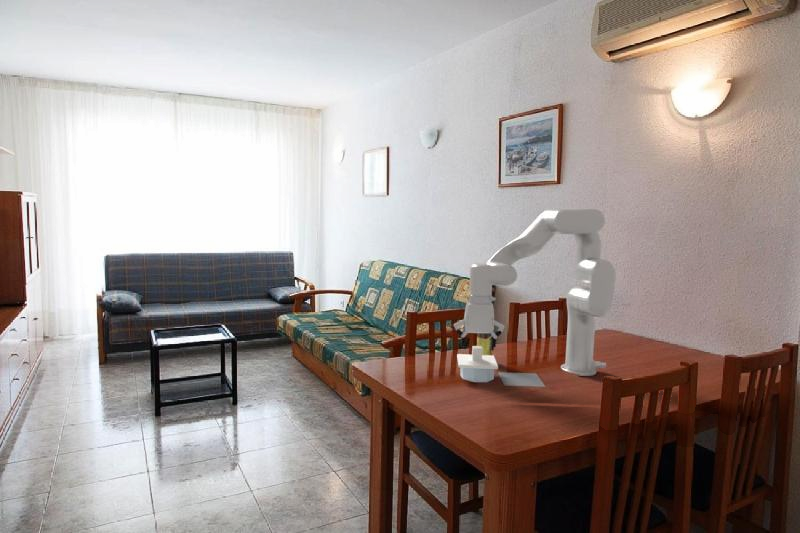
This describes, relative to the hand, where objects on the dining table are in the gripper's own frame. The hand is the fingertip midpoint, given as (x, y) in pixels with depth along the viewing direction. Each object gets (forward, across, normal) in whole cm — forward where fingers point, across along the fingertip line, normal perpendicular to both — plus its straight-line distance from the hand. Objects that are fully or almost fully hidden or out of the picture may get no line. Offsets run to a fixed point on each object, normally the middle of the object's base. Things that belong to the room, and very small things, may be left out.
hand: (478, 348), depth 182 cm
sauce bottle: (+11, -5, -18) cm, 22 cm away
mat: (+11, -15, +1) cm, 19 cm away
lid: (+5, 0, 0) cm, 5 cm away
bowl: (+11, 0, 0) cm, 11 cm away
